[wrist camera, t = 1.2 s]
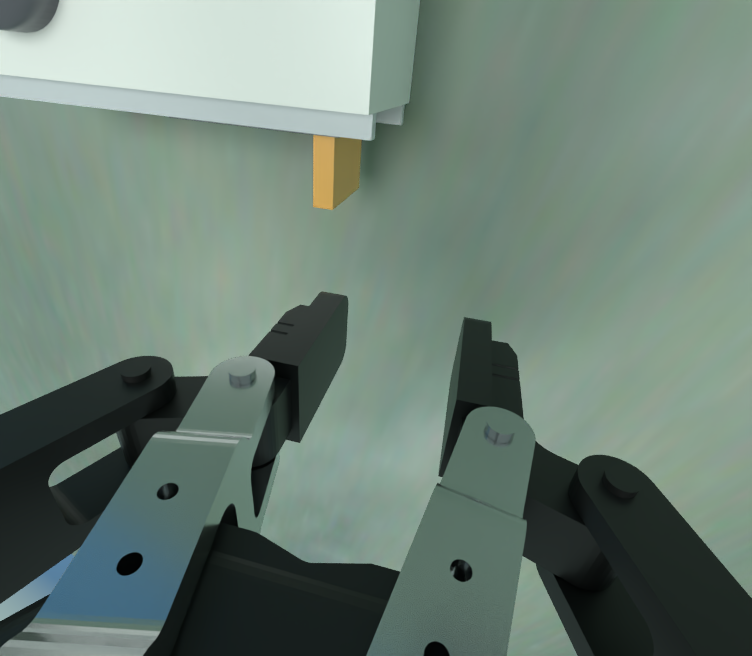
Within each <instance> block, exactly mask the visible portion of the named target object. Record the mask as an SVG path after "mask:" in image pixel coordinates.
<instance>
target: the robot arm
mask: <svg viewBox="0 0 752 656" xmlns="http://www.w3.org/2000/svg"><path fill="white" fill-rule="evenodd" d="M347 317H348V298H347V296H344V295H339V294H333V293H328V292H320V293H319V294H318V296H317V297H316V298H315V300H314V301H313V302H312V303H311V305H310V306H305V305H299V306H297V307H295V308H293V309H291V310H289V311H287V312H286V313H285V314H284V315H283V316H282V318H281V319H280V320H279V321H278V324H276V325H275V326H274V327H273V328H272V329H271V332H269V333H268V334H267V335H266V336H265V337H264V338H263V339H262V341H261V342H260V343H259V344H258V345H257V346H256V348H255V349H254V350H253V351H252V352H251V353H250V354H249V356H240V357H235V358H231V359H228V360H225V361H223V362H221V363H220V364H218V365H217V366H216V367H215V368H214V369H213V370H212V371H211V373H210V374H209V376H198V377H174V372H173V368H172V365H171V363H170V362H169V361H167V360H166V359H164V358H161V357H156V356H140V357H134V358H130V359H127V360H124V361H121V362H119V363H116V364H114V365H112V366H110V367H107V368H105V369H103V370H101V371H98V372H96V373H94V374H91V375H89V376H87V377H85V378H82V379H80V380H78V381H76V382H73V383H71V384H69V385H67V386H64V387H62V388H60V389H57V390H55V391H53V392H51V393H48V394H46V395H44V396H42V397H39V398H37V399H35V400H33V401H30V402H28V403H26V404H23V405H21V406H19V407H17V408H14V409H12V410H10V411H8V412H5V413H3V414H1V415H0V603H2V602H3V601H5V600H6V599H8V598H9V597H11V596H12V595H13V594H15V593H16V592H18V591H19V590H20V589H22V588H23V587H25V586H26V585H27V584H29V583H30V582H31V581H33V580H34V579H36V578H37V577H39V576H40V575H42V574H43V573H44V572H46V571H47V570H49V569H50V568H52V567H53V566H54V565H56V564H57V563H59V562H60V561H61V560H63V559H64V558H66V557H67V556H68V555H70V554H71V553H73V552H74V551H76V550H77V549H78V548H80V549H79V550H78V552H77V553H76V555H75V557H74V558H73V560H72V561H71V563H70V564H69V566H68V567H67V569H66V571H65V572H64V574H63V575H62V577H61V578H60V580H59V582H58V583H57V584H56V586H55V588H54V589H53V591H52V592H51V594H49V595H47V596H45V597H44V598H42V599H40V600H38V601H36V602H35V603H33V604H31V605H29V606H27V607H26V608H24V609H22V610H20V611H19V612H16V613H15V614H13V615H11V616H10V617H8V618H6V619H4V620H2V621H0V656H507V649H508V643H509V637H510V631H511V624H512V618H513V612H514V605H515V599H516V593H517V587H518V580H519V574H520V568H521V561H522V556H524V557H526V558H527V559H529V560H531V561H532V562H534V563H536V566H537V570H538V573H539V575H540V577H541V579H542V581H543V584H544V586H545V588H546V590H547V592H548V594H549V596H550V598H551V600H552V602H553V605H554V607H555V609H556V611H557V613H558V615H559V617H560V619H561V621H562V624H563V626H564V628H565V630H566V632H567V634H568V636H569V638H570V640H571V642H572V645H573V647H574V649H575V651H576V653H577V655H578V656H752V598H751V597H750V596H749V595H748V594H747V592H746V591H745V590H744V589H743V588H742V587H741V585H740V584H739V583H738V582H737V581H736V580H735V578H734V577H733V576H732V575H731V574H730V572H729V571H728V570H727V569H726V568H725V567H724V565H723V564H722V563H721V562H720V561H719V560H718V558H717V557H716V556H715V555H714V554H713V552H712V551H711V550H710V549H709V548H708V547H707V545H706V544H705V543H704V542H703V541H702V540H701V538H700V537H699V536H698V535H697V534H696V532H695V531H694V530H693V529H692V528H691V527H690V525H689V524H688V523H687V522H686V521H685V520H684V518H683V517H682V516H681V515H680V514H679V512H678V511H677V510H676V509H675V508H674V507H673V505H672V504H671V503H670V502H669V501H668V499H667V498H666V497H665V496H664V495H663V494H662V492H661V491H660V490H659V489H658V488H657V487H656V485H655V484H654V483H653V482H652V481H651V480H650V479H649V478H648V477H647V476H646V475H645V474H644V473H643V472H642V471H640V470H639V469H637V468H636V467H634V466H633V465H631V464H629V463H627V462H625V461H623V460H621V459H618V458H615V457H611V456H606V455H592V456H589V457H586V458H584V459H583V460H582V461H581V462H580V463H579V465H577V464H575V463H573V462H570V461H568V460H566V459H564V458H562V457H560V456H557V455H555V454H553V453H552V452H550V451H548V450H547V449H545V448H543V447H542V446H541V445H540V444H538V443H537V442H536V441H535V439H536V438H535V434H534V432H533V430H532V428H531V427H530V425H529V424H528V423H527V422H526V421H525V420H524V418H523V408H522V398H521V389H520V381H519V371H518V360H517V355H516V354H515V352H514V351H513V350H512V348H511V347H510V346H509V344H508V343H503V342H498V341H492V329H491V322H488V321H483V320H477V319H472V318H466V317H464V320H463V324H462V328H461V333H460V337H459V342H458V347H457V351H456V356H455V360H454V365H453V370H452V375H451V381H450V388H449V396H448V404H447V412H446V420H445V428H444V436H443V444H442V452H441V460H440V467H439V475H438V476H440V477H443V478H442V480H441V482H440V484H439V483H437V485H436V487H435V489H434V491H433V493H432V495H431V498H430V500H429V503H428V505H427V508H426V510H425V513H424V515H423V518H422V520H421V522H420V525H419V527H418V530H417V532H416V535H415V537H414V540H413V542H412V545H411V547H410V549H409V552H408V554H407V557H406V559H405V562H404V564H403V567H402V569H401V572H399V571H396V570H392V569H388V568H385V567H381V566H378V565H374V564H347V563H308V562H304V561H302V560H301V559H299V558H297V557H296V556H294V555H292V554H291V553H289V552H288V551H286V550H284V549H283V548H281V547H279V546H278V545H276V544H275V543H273V542H271V541H270V540H268V539H267V538H265V537H263V536H262V535H260V531H261V526H262V522H263V519H264V515H265V512H266V508H267V504H268V501H269V497H270V494H271V490H272V486H273V483H274V479H275V476H276V472H277V469H278V465H279V460H280V456H279V451H280V449H281V447H282V445H283V444H284V442H285V440H290V441H294V442H299V443H300V442H301V440H302V438H303V436H304V434H305V432H306V430H307V428H308V426H309V424H310V422H311V420H312V418H313V417H314V415H315V413H316V411H317V409H318V407H319V405H320V403H321V401H322V399H323V397H324V395H325V393H326V391H327V390H328V388H329V386H330V384H331V382H332V380H333V378H334V376H335V374H336V372H337V370H338V368H339V366H340V365H341V362H342V360H343V357H344V353H345V348H346V337H347ZM114 433H117V436H118V439H119V442H120V445H121V447H120V448H119V449H117V450H115V451H113V452H112V453H110V454H108V455H107V456H105V457H103V458H101V459H100V460H98V461H96V462H95V463H93V464H91V465H90V466H88V467H86V468H84V469H83V470H81V471H79V472H78V473H76V474H74V475H72V476H71V477H69V478H67V479H66V480H64V481H62V482H61V483H59V484H57V485H55V486H52V487H49V485H48V480H49V477H50V475H51V473H52V472H53V470H54V469H55V468H56V467H57V466H58V465H60V464H61V463H62V462H64V461H65V460H67V459H69V458H71V457H73V456H74V455H76V454H78V453H80V452H82V451H83V450H85V449H87V448H89V447H91V446H92V445H94V444H96V443H98V442H100V441H101V440H103V439H105V438H107V437H109V436H110V435H112V434H114Z"/></svg>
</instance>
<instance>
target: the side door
mask: <svg viewBox="0 0 752 656" xmlns="http://www.w3.org/2000/svg"><path fill="white" fill-rule="evenodd" d="M170 118H177V117H170ZM178 119H186V118H178ZM186 120H194V119H186ZM194 121H202V120H194ZM203 122H211V121H203ZM211 123H219V122H211ZM219 124H227V123H219ZM228 125H236V124H228ZM236 126H244V125H236ZM244 127H252V126H244ZM253 128H261V127H253ZM261 129H269V128H261ZM269 130H277V129H269ZM277 131H286V130H277ZM286 132H294V131H286ZM294 133H302V132H294ZM302 134H311V133H302ZM311 135H313V207H317V208H323V209H330V210H333V209H334V208H335V207H337V206H338V205H339V204H340V203H341V202H343V201H344V200H345V199H346V198H347V197H349V196H350V195H351V194H352V193H353V192H355V191H356V190H357V189H358V188H359V178H360V161H361V143H362V140H361V139H352V138H344V137H336V136H327V135H319V134H311Z"/></svg>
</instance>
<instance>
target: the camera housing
mask: <svg viewBox="0 0 752 656" xmlns="http://www.w3.org/2000/svg"><path fill="white" fill-rule="evenodd" d="M419 8H420V0H0V96H2V97H11V98H19V99H27V100H36V101H44V102H52V103H61V104H69V105H77V106H86V107H94V108H102V109H111V110H119V111H127V112H136V113H144V114H152V115H161V116H169V117H177V118H186V119H194V120H202V121H211V122H219V123H227V124H236V125H244V126H252V127H261V128H269V129H277V130H286V131H294V132H302V133H311V134H319V135H327V136H336V137H344V138H352V139H361V140H369V141H372V140H374V139H375V129H376V123H385V124H394V125H402V124H403V117H404V107H405V104H408V103H409V101H410V92H411V82H412V73H413V64H414V54H415V45H416V36H417V26H418V17H419Z"/></svg>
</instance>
